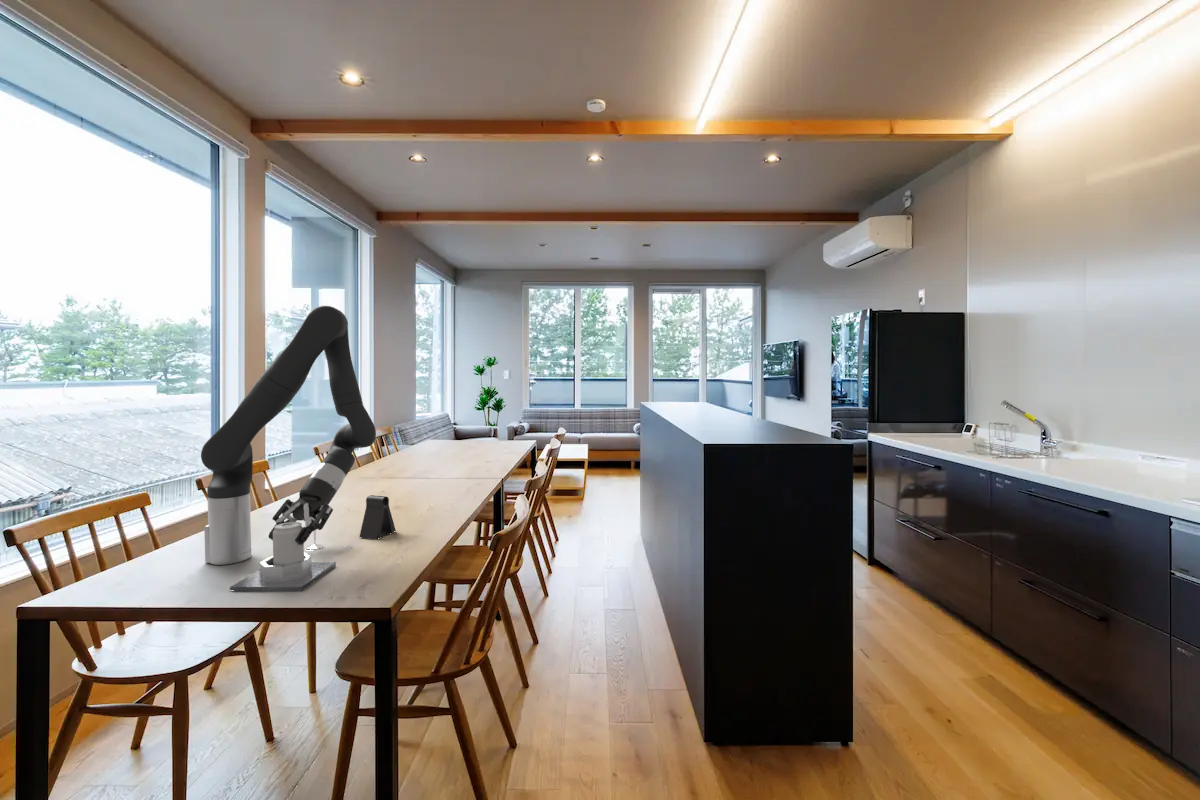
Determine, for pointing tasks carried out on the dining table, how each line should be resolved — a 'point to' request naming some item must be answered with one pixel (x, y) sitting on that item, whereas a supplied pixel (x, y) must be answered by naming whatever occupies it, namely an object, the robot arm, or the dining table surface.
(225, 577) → the dining table surface
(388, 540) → the dining table surface
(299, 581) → the collar stand
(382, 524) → the phone stand
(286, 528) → the beverage can
